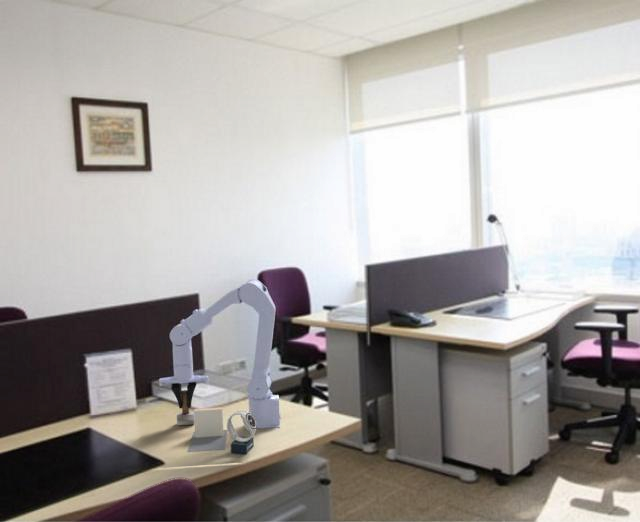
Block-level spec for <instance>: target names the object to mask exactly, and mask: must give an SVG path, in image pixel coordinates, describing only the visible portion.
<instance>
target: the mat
mask: <svg viewBox="0 0 640 522" xmlns="http://www.w3.org/2000/svg"><path fill="white" fill-rule="evenodd" d="M223 432H224V434H223V436H214V437H198V438H195V431H193V433H192V436H191V440H190V441H189V445H188V448H187V453H193V452H195V453H196V452H209V451H210V452H211V451H223V450H226V443H227V438H228V437H227V436H228V432H229V431H228V429H223Z"/></svg>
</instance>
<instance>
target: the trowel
mask: <svg viewBox="0 0 640 522" xmlns="http://www.w3.org/2000/svg"><path fill="white" fill-rule="evenodd" d="M181 397H182V408H181V410H182V411H178V412H177V415H176V424H177V426H184V425H185V426H187V425H189V426H190V425H195V423H194V410H193V411H190V408H188V391H187V389H184V390H183V389H182V391H181Z"/></svg>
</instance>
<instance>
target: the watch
mask: <svg viewBox="0 0 640 522" xmlns="http://www.w3.org/2000/svg"><path fill="white" fill-rule="evenodd" d="M234 416H240V418H241V419H242V423H243V425H244V427H245V428H246V430H247V431H248V432H249V433H250V436H239V435H238V432H237V430H235V427H234V425H233V422H232V420H233V419H232V418H233V417H234ZM257 429H258V428H257V422H256V420H255V418H254V416H253V415H252V414H251V413H249V411H245V410H238V411H236V412H234V413H232V414H231V415H230V416H229V417H228V419H227V423H226V430H228V431H227V432H228V433H229V435H230V437H231V439H232V440H233V441H232V442H231V443H230V453H231V454H234V455H248V454H249V452H250V451H251V450H252V449H253V448H254V445H255V444H254V436H255V434H256V432H257Z"/></svg>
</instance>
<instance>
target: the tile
mask: <svg viewBox="0 0 640 522" xmlns="http://www.w3.org/2000/svg"><path fill="white" fill-rule="evenodd" d="M193 411H194V432H195V438H198V437H214V436H223V434H224V432H223V430H224V416H223V415H224V414H223V413H224V412H223V411H224V410H223V407H222V406H220V407H206V408H205V407H204V408H202V407H201V408H199V407H198V408H194V409H193Z"/></svg>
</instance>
